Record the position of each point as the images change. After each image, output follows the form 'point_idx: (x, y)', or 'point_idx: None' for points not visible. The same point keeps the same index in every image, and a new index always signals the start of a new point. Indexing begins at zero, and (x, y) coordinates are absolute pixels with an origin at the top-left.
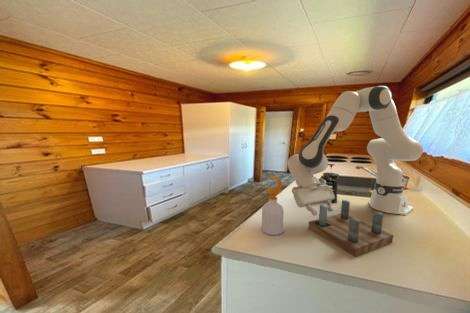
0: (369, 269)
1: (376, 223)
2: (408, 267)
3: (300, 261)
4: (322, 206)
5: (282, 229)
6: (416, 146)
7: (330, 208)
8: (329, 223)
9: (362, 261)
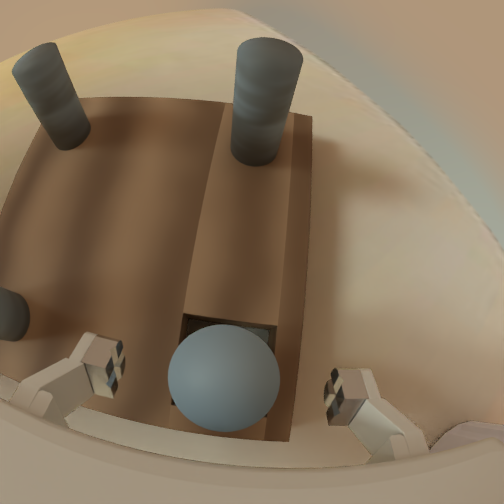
0: (324, 99)
1: (72, 89)
2: (205, 54)
3: (485, 241)
4: (246, 385)
5: (447, 440)
6: None
7: (109, 349)
8: (169, 339)
9: None
